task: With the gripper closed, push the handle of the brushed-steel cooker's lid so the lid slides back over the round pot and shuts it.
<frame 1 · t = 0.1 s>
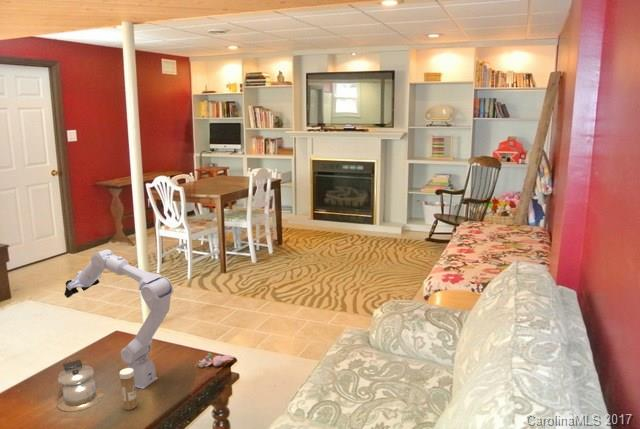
hand: (74, 292, 193), 32 cm above the table, tool tilted 50°, fingers open, 7 cm apart
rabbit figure: (214, 366, 199), on the table
cooker lid: (74, 372, 183), point 7 cm above the table, slide at 6.0 cm
cooker pot: (80, 399, 178), on the table
sprinkles bottle: (130, 407, 173), on the table
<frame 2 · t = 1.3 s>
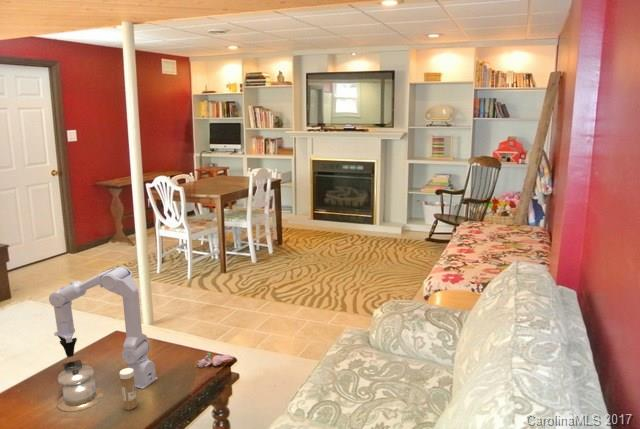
hand: (69, 353, 192), 9 cm above the table, tool pointing down, fingers open, 6 cm apart
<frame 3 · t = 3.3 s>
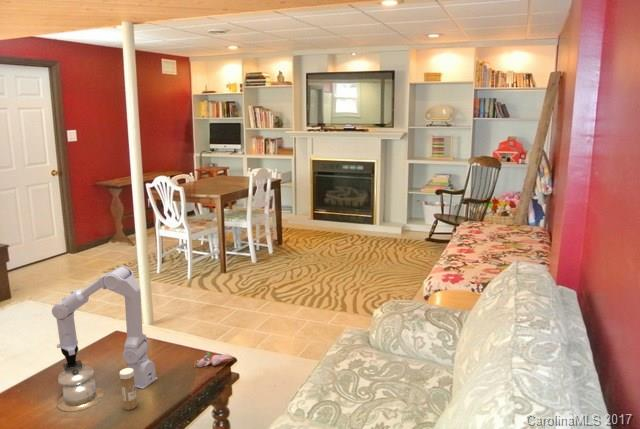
hand: (71, 365, 190), 6 cm above the table, tool pointing down, fingers closed
cooker lid: (75, 372, 183), point 7 cm above the table, slide at 5.7 cm, touching gripper
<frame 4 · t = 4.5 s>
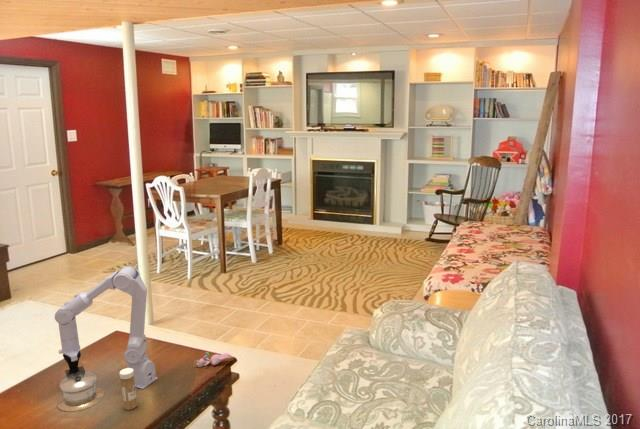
hand: (74, 371, 186), 6 cm above the table, tool pointing down, fingers closed
cooker lid: (77, 378, 178), point 7 cm above the table, slide at 0.2 cm, touching gripper
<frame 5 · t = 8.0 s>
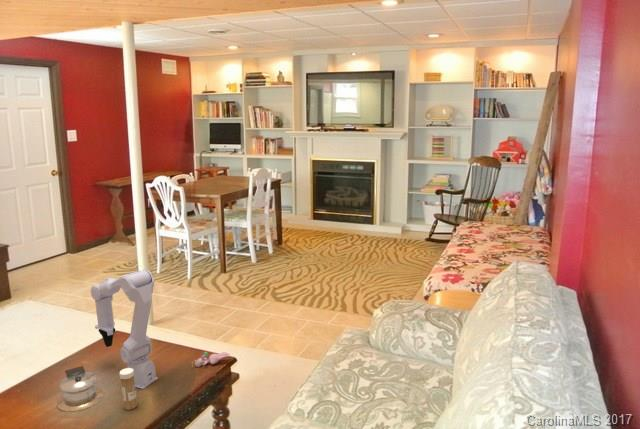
hand: (108, 345, 198), 9 cm above the table, tool pointing down, fingers closed
cooker lid: (77, 379, 178), point 7 cm above the table, slide at 0.1 cm
at the end: cooker lid slide at 0.1 cm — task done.
